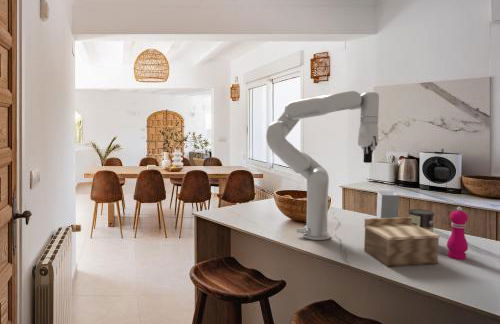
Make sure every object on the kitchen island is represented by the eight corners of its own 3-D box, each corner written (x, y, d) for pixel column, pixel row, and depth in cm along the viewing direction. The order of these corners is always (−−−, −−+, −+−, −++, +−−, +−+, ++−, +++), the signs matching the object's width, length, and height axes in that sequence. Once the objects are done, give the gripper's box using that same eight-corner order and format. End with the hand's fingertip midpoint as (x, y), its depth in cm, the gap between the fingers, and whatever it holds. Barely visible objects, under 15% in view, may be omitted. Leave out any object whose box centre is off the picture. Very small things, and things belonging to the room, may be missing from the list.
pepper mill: (442, 254, 151) (445, 205, 150) (459, 253, 152) (462, 204, 150) (453, 260, 144) (456, 208, 142) (471, 259, 145) (474, 208, 143)
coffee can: (434, 241, 168) (435, 210, 167) (431, 248, 159) (432, 215, 158) (409, 238, 173) (410, 208, 172) (405, 243, 165) (406, 212, 163)
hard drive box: (397, 238, 172) (399, 195, 171) (379, 237, 174) (381, 195, 172) (391, 230, 187) (393, 190, 186) (375, 229, 189) (377, 189, 187)
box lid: (388, 240, 135) (389, 230, 135) (364, 227, 153) (364, 218, 153) (439, 237, 139) (440, 228, 139) (409, 225, 157) (410, 217, 157)
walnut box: (387, 267, 136) (389, 240, 135) (364, 251, 154) (365, 227, 153) (437, 264, 140) (438, 238, 139) (408, 248, 158) (409, 225, 157)
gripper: (353, 121, 172) (352, 161, 174) (369, 120, 157) (368, 164, 159) (368, 121, 173) (367, 161, 175) (386, 120, 159) (384, 164, 160)
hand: (367, 162), depth 167 cm, fingers closed
